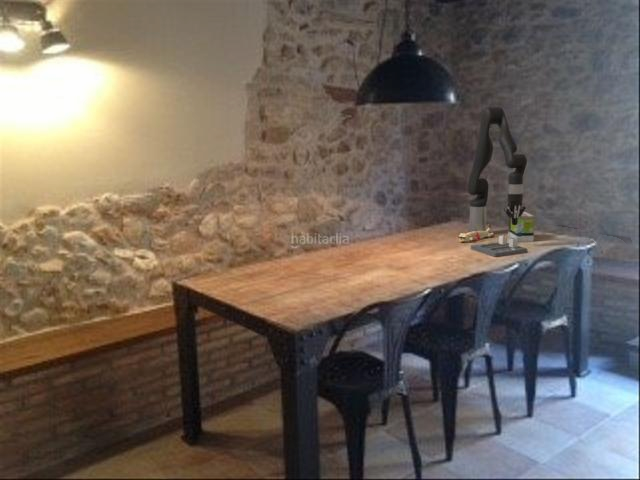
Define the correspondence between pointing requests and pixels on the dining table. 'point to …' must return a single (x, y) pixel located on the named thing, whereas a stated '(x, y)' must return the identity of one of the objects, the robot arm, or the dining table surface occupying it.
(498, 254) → the grey slotted board
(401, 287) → the dining table surface
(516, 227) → the tea box
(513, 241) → the grey fader
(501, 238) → the cream fader
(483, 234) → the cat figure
